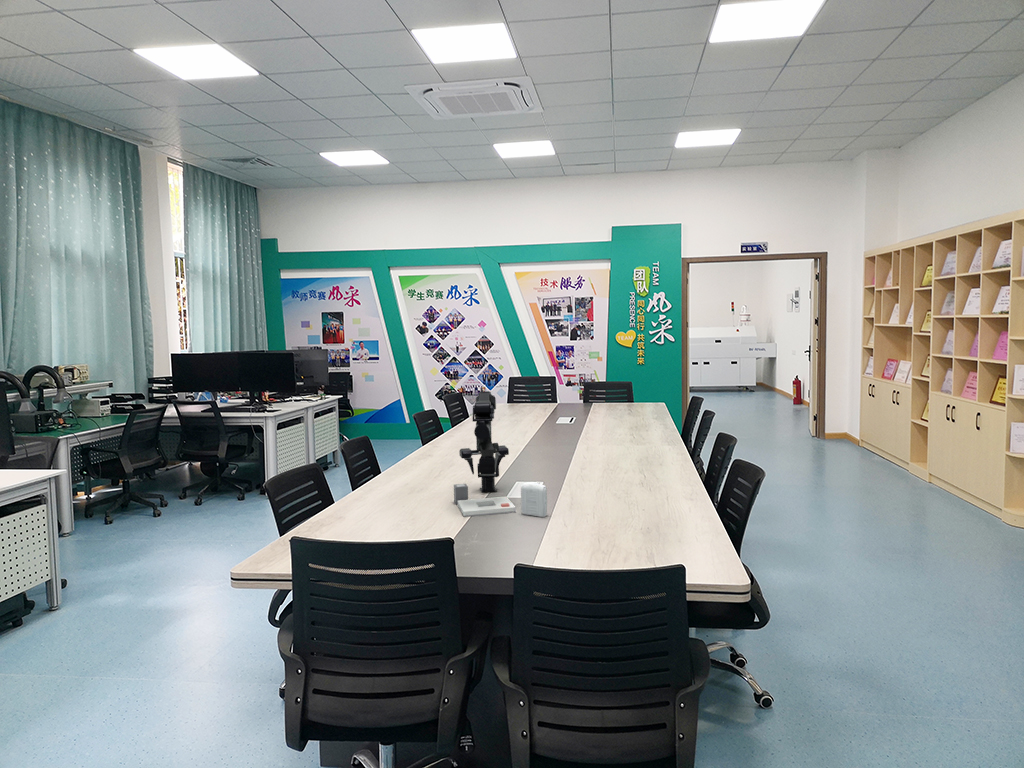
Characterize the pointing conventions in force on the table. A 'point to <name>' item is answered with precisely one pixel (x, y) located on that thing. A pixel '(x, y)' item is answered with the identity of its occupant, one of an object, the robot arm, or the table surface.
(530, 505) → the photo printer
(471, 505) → the socket plate
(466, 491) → the plug
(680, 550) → the table surface
